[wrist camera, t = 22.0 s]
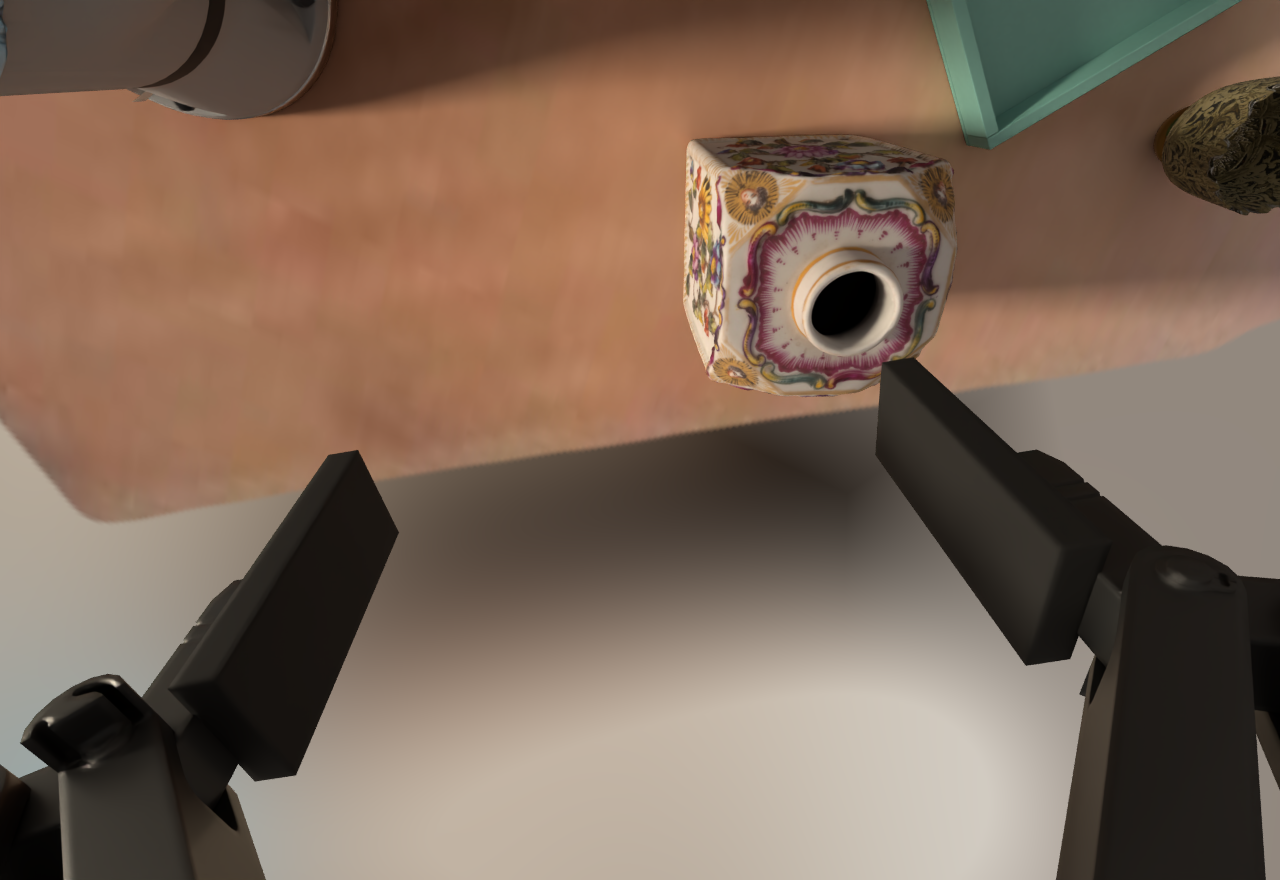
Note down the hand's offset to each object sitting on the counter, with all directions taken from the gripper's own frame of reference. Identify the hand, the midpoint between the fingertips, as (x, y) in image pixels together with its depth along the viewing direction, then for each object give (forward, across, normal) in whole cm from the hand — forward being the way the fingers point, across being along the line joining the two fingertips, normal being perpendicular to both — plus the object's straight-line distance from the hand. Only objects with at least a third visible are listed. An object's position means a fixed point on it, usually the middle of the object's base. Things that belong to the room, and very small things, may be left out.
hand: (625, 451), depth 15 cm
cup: (+31, +39, -2) cm, 50 cm away
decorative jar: (+31, +11, -3) cm, 33 cm away
